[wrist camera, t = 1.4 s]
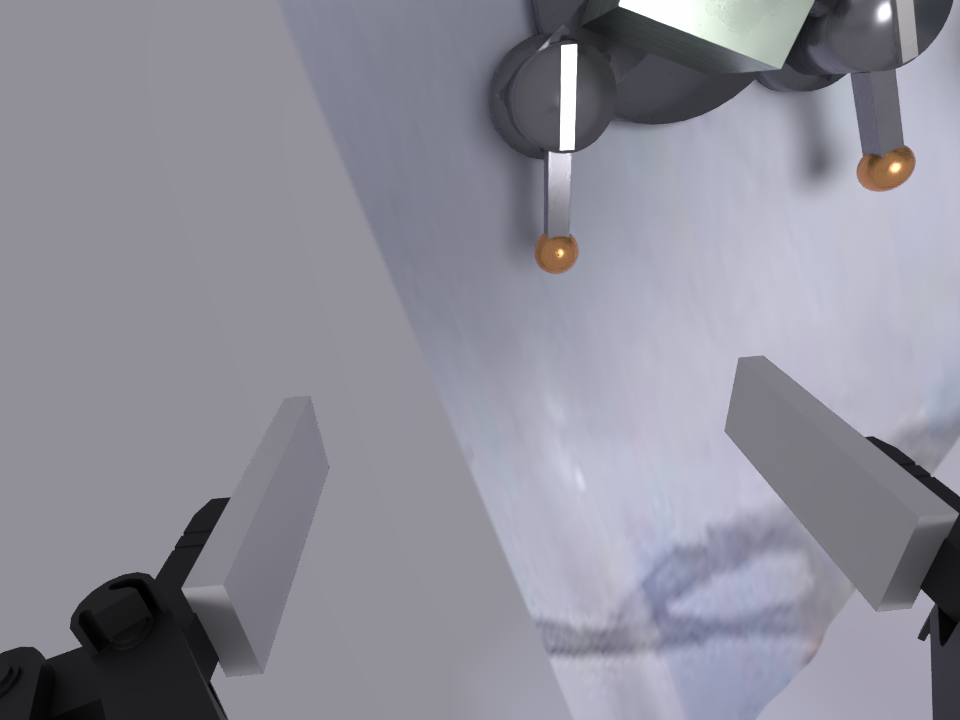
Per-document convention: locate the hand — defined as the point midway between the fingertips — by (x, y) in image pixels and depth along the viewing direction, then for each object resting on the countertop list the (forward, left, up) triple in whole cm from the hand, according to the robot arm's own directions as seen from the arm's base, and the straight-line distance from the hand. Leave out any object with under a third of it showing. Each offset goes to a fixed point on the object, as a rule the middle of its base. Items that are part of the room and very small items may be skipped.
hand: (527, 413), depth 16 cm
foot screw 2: (-15, +17, -19) cm, 29 cm away
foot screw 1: (-6, +2, -19) cm, 20 cm away
